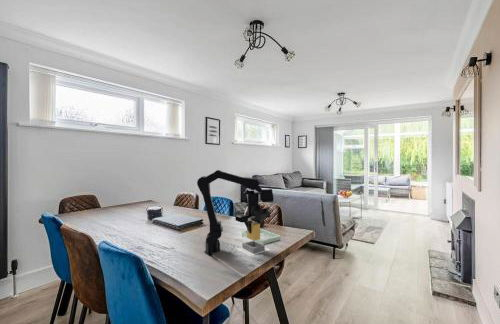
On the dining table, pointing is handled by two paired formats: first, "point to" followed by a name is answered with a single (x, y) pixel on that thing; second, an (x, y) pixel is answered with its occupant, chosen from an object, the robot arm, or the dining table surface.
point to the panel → (252, 248)
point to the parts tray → (274, 236)
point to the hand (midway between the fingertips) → (253, 232)
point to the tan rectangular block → (254, 231)
